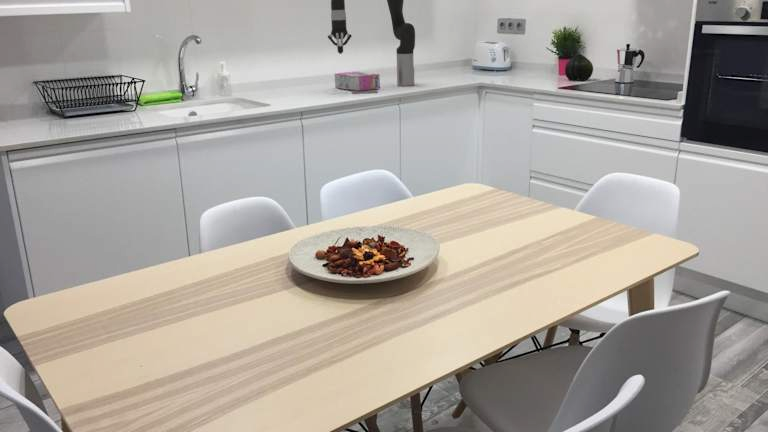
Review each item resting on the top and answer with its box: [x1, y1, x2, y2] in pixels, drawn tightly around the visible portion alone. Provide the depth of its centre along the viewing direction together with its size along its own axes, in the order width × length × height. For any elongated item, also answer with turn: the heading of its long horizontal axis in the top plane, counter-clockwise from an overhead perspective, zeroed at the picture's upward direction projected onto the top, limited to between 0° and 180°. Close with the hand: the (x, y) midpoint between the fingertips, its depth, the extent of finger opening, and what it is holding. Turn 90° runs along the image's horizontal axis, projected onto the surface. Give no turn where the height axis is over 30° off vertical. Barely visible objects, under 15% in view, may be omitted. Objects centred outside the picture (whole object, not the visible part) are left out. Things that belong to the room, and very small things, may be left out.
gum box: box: [334, 71, 381, 91], centre depth 368 cm, size 24×8×14 cm
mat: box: [350, 89, 378, 95], centre depth 364 cm, size 13×26×1 cm, turn 6°
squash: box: [564, 53, 594, 82], centre depth 379 cm, size 14×15×15 cm
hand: (340, 53), depth 357 cm, fingers closed
